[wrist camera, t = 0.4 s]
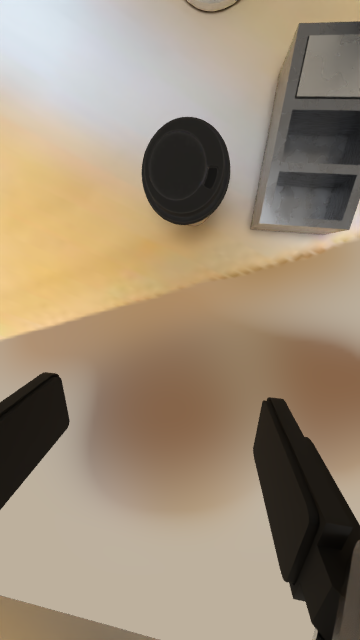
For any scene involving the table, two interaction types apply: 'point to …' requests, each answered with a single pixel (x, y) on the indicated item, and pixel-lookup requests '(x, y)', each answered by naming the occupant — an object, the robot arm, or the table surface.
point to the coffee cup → (186, 171)
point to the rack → (314, 135)
